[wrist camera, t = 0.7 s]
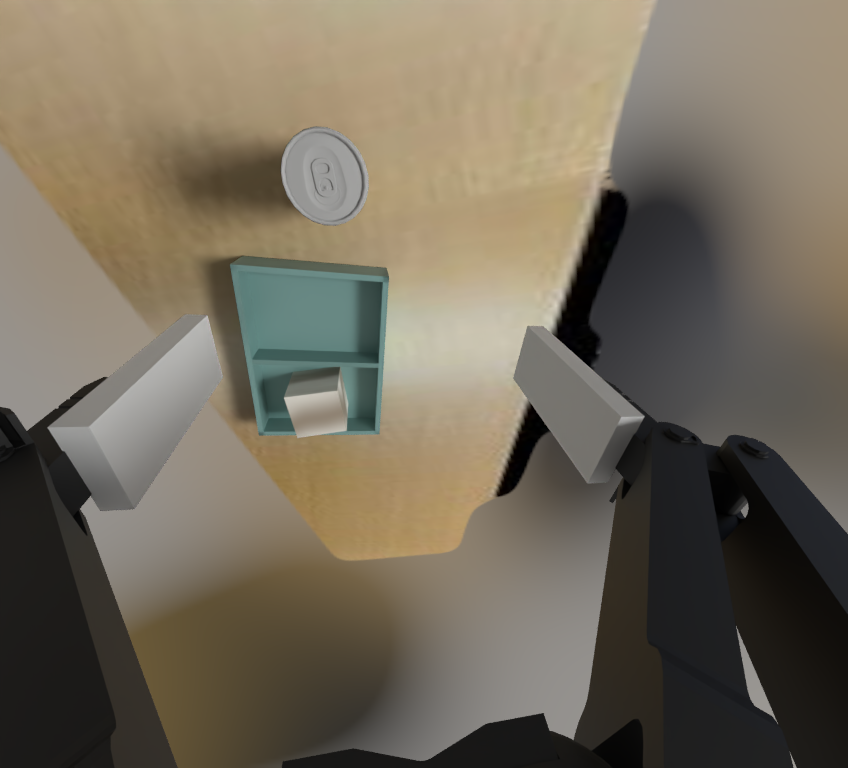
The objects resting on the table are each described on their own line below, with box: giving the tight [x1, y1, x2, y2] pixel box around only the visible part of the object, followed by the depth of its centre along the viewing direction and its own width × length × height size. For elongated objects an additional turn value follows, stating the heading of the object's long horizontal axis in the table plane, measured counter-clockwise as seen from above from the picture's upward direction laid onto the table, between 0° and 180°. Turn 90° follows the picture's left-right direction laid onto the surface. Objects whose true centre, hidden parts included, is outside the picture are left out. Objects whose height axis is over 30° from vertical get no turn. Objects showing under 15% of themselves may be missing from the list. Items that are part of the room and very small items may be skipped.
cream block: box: [284, 367, 348, 438], centre depth 36 cm, size 5×5×5 cm
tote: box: [230, 256, 389, 435], centre depth 35 cm, size 18×13×4 cm
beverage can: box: [281, 127, 369, 226], centre depth 24 cm, size 5×5×12 cm
